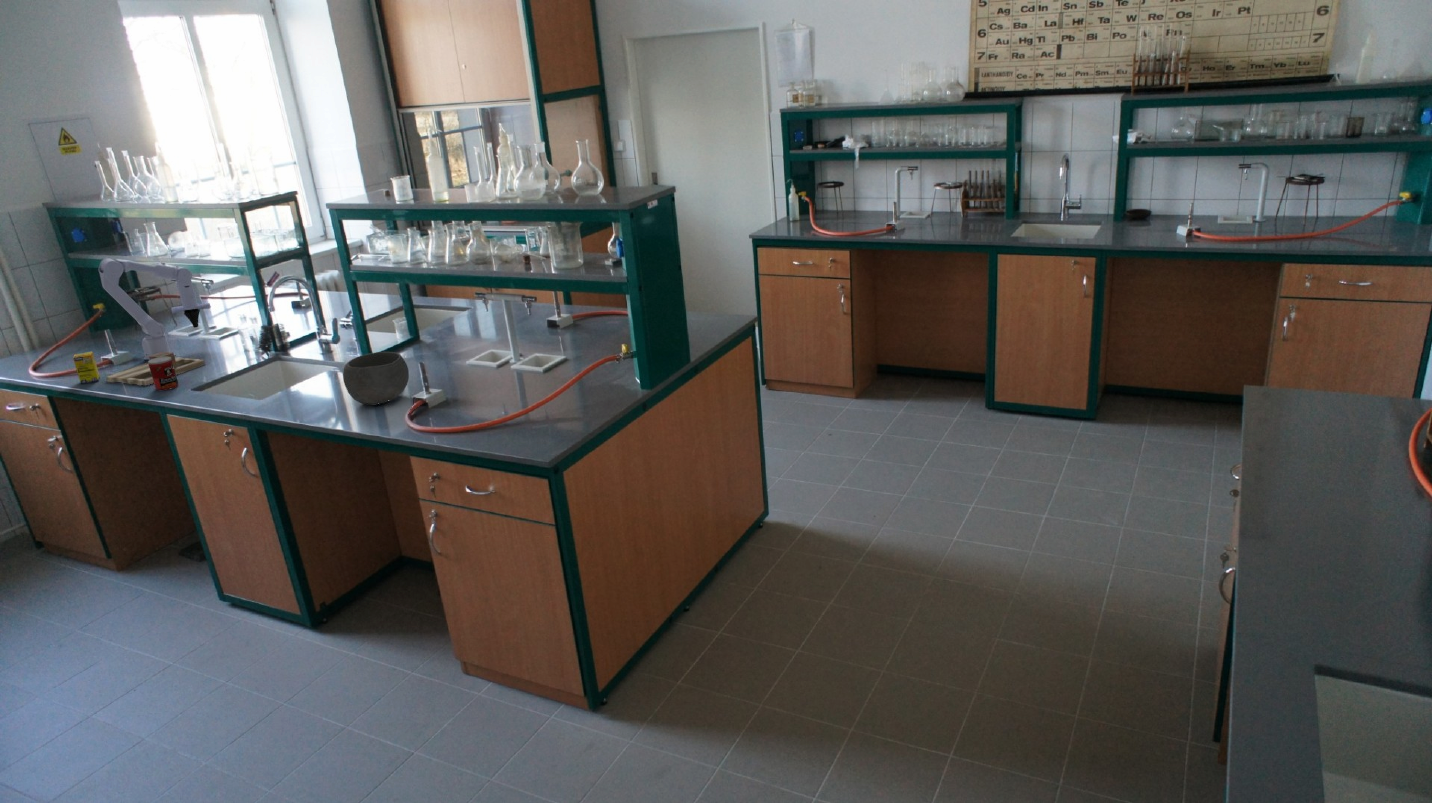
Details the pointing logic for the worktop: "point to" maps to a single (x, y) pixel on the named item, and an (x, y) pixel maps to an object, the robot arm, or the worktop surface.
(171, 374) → the canned food
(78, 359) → the supplement box
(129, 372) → the trap deck
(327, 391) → the worktop surface
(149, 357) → the walnut block
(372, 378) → the bowl
